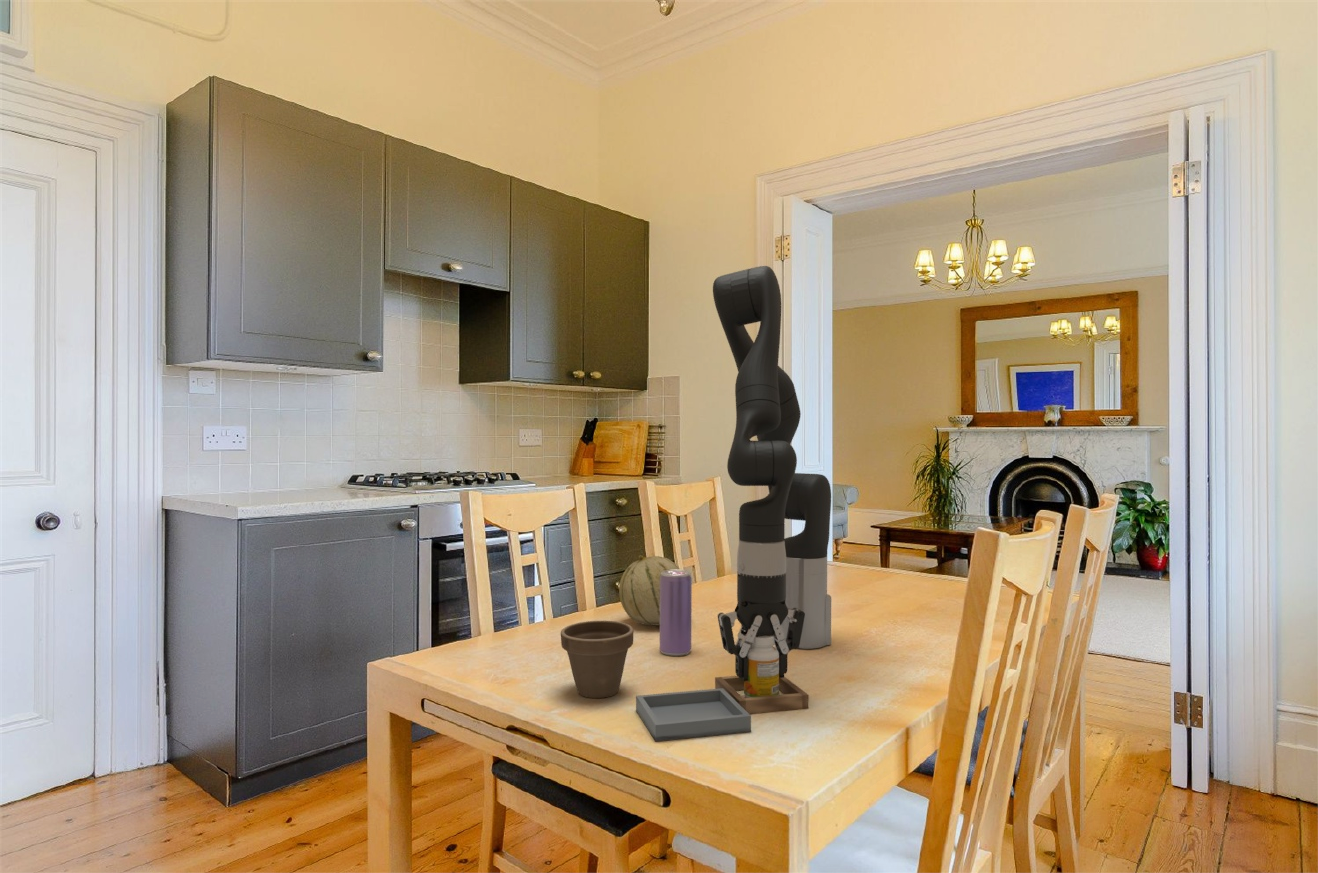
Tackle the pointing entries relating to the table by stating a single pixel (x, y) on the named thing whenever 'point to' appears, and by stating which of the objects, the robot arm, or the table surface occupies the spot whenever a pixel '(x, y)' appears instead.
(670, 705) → the tray
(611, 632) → the flower pot
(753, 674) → the supplement bottle
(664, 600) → the beverage can
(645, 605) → the cantaloupe
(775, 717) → the table surface
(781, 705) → the brown wooden square frame
